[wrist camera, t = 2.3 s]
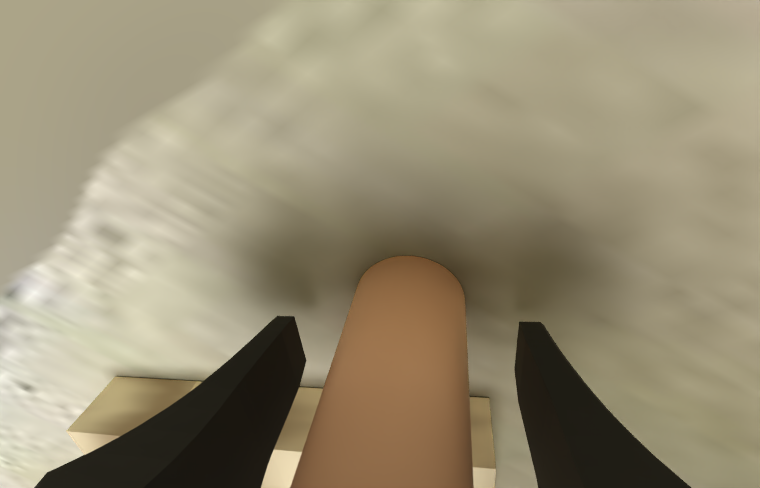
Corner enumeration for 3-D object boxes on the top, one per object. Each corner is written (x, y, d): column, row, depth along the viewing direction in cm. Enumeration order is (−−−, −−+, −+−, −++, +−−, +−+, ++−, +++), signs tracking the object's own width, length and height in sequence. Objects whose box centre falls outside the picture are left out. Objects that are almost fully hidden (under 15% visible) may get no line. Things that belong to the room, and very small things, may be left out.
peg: (465, 255, 13) (479, 515, 7) (464, 343, 15) (475, 613, 9) (349, 255, 14) (254, 489, 7) (363, 340, 16) (298, 585, 9)
